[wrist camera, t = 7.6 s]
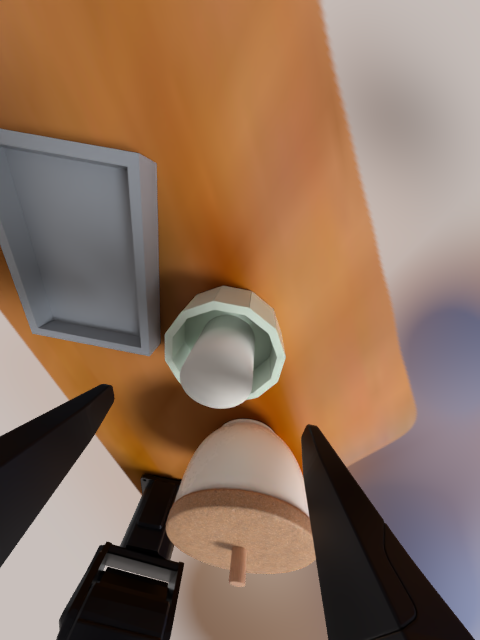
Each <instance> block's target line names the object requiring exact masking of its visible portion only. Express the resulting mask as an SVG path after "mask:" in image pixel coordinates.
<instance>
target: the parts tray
mask: <svg viewBox="0 0 480 640" xmlns="http://www.w3.org/2000/svg"><path fill="white" fill-rule="evenodd" d="M0 245H1V248H2V251H3V254H4V256H5V259H6V262H7V265H8V267H9V270H10V273H11V276H12V278H13V281H14V284H15V287H16V290H17V292H18V295H19V298H20V301H21V303H22V306H23V309H24V312H25V314H26V317H27V320H28V323H29V325H30V328H31V331H32V334H38V335H43V336H48V337H53V338H58V339H63V340H69V341H74V342H79V343H84V344H89V345H94V346H100V347H105V348H110V349H115V350H120V351H126V352H131V353H136V354H141V355H146V356H150V355H151V354H152V353H153V352H154V350H155V349H156V348H157V347H158V346H159V344H160V343H161V336H160V292H159V249H158V206H157V163H155V162H153V161H152V160H150V159H148V158H146V157H144V156H143V155H141V154H139V153H134V152H129V151H123V150H117V149H112V148H106V147H101V146H95V145H89V144H84V143H78V142H72V141H67V140H61V139H55V138H50V137H44V136H39V135H33V134H27V133H22V132H16V131H10V130H5V129H0Z"/></svg>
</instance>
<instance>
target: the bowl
mask: <svg viewBox="0 0 480 640" xmlns="http://www.w3.org/2000/svg"><path fill="white" fill-rule="evenodd" d="M221 315H232V316H236V317H238V318H241V319H242V320H244V321H245V322H246V323H248V324H249V326H250V327H251V328H252V330H253V332H254V335H255V351H254V366H253V381H252V390H251V393H250V395H249V397H248V398H247V399H246V400H248V399H253V398H257V397H259V396H260V395H261V394H263V393H264V392H265V391H267V390H268V389H269V388H270V387H272V386H273V385H274V384H276V383H277V382H278V379H279V376H280V373H281V370H282V367H283V364H284V361H285V358H286V356H285V350H284V345H283V339H282V334H281V330H280V327H279V324H278V321H277V318H276V315H275V312H274V309H273V308H272V307H270V306H269V305H268V304H267V303H266V302H264V301H263V300H262V299H261V298H260V297H258V296H257V295H256V294H255V293H254V292H251V291H249V290H244V289H239V288H233V287H228V286H220V287H217V288H214V289H211V290H209V291H206V292H203V293H200V294H197V295H196V296H195V297H194V298H193V299H192V300H191V302H190V303H189V304H188V305H187V306H186V307H185V308H184V309H183V311H182V312H181V313H180V314H179V316H178V317H177V318H176V320H175V321H174V322H173V324H172V325H171V326H170V328H169V329H168V330H167V332H166V333H165V361H166V362H167V364H168V366H169V367H170V369H171V370H172V372H173V373H174V375H175V377H176V378H177V380H178V381H179V382H180V371H181V368H182V366H183V364H184V362H185V361H186V359H187V357H188V355H189V353H190V352H191V350H192V348H193V346H194V344H195V343H196V341H197V339H198V337H199V336H200V334H201V332H202V330H203V328H204V327H205V325H206V324H207V323H208V322H209V321H210V320H211V319H213V318H215V317H217V316H221ZM180 383H181V382H180Z"/></svg>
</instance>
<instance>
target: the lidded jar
mask: <svg viewBox="0 0 480 640" xmlns="http://www.w3.org/2000/svg"><path fill="white" fill-rule="evenodd" d="M166 533H167V536H168V538H169V539H170V541H171V542H172V543H173V544H174V545H175V546H176V547H177V548H179V549H180V550H181V551H182V552H184V553H186V554H187V555H189V556H191V557H193V558H195V559H197V560H199V561H202V562H204V563H207V564H210V565H213V566H216V567H220V568H224V569H228V570H230V575H229V584H231V585H233V586H237V587H243V586H245V577H246V576H245V575H246V573H256V574H257V573H258V574H276V573H285V572H291V571H295V570H298V569H301V568H304V567H306V566H307V565H309V564H311V563H312V562H313V561H314V560H315V559H316V556H315V550H314V543H313V537H312V530H311V524H310V518H309V511H308V505H307V498H306V492H305V485H304V479H303V475H302V473H301V470H300V467H299V465H298V463H297V461H296V459H295V457H294V455H293V453H292V451H291V450H290V449H289V447H288V446H287V445H286V444H285V442H284V441H283V440H282V439H281V438H280V437H278V436H277V435H276V434H275V433H274V431H273V430H272V429H271V428H270V427H269V426H267V425H266V424H264V423H262V422H259V421H256V420H252V419H235V420H232V421H229V422H227V423H225V424H224V425H223V426H222V427H221V428H219V429H217V430H216V431H214V432H213V433H211V434H210V435H209V436H208V437H207V438H206V439H205V440H204V441H203V442H202V443H201V444H200V446H199V447H198V448H197V450H196V451H195V453H194V455H193V456H192V458H191V460H190V462H189V464H188V466H187V469H186V471H185V473H184V476H183V478H182V481H181V484H180V486H179V489H178V492H177V495H176V499H175V502H174V504H173V505H172V508H171V510H170V512H169V515H168V518H167V522H166Z"/></svg>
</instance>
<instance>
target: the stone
mask: <svg viewBox="0 0 480 640" xmlns="http://www.w3.org/2000/svg"><path fill="white" fill-rule="evenodd" d="M254 351H255V335H254V332H253V330H252V328H251V327H250V326H249V324H248V323H246V322H245V321H244V320H242V319H241V318H238V317H236V316H232V315H221V316H217V317H215V318H213V319H211V320H210V321H209V322H208V323H207V324H206V325H205V327H204V328H203V330H202V332H201V334H200V336H199V337H198V339H197V341H196V343H195V344H194V346H193V348H192V350H191V352H190V353H189V355H188V357H187V359H186V361H185V362H184V364H183V366H182V368H181V371H180V382H181V385H182V387H183V389H184V391H185V392H186V393H187V394H188V395H189V396H190V397H191V398H192V399H193V400H195V401H196V402H198V403H200V404H202V405H204V406H207V407H211V408H218V409H225V408H231V407H235V406H237V405H239V404H241V403H243V402H244V401H245V400H246V399H247V398H248V397H249V395H250V393H251V390H252V381H253V366H254Z"/></svg>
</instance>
